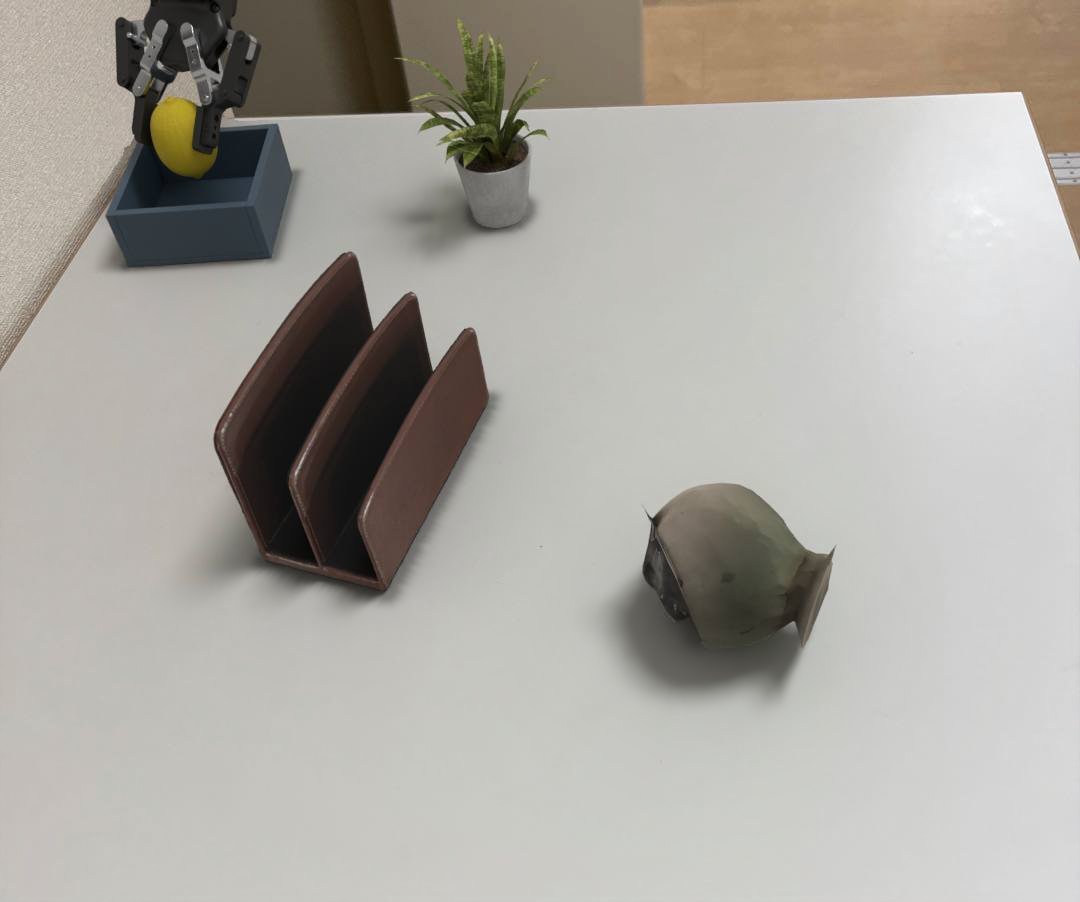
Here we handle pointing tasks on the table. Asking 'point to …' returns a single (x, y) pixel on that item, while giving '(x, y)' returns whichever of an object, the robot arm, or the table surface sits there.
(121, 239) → the bin
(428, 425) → the letter holder
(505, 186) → the house plant
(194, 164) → the lemon
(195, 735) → the table surface
